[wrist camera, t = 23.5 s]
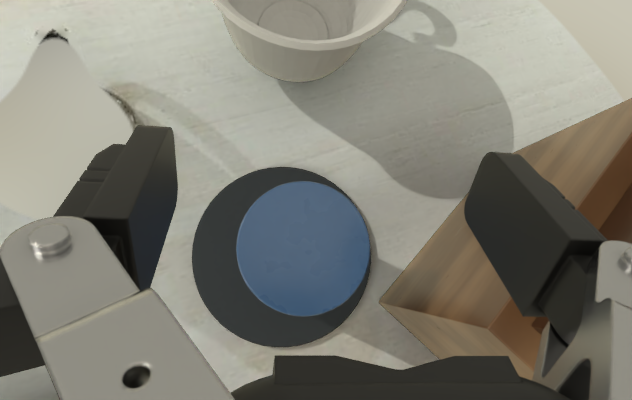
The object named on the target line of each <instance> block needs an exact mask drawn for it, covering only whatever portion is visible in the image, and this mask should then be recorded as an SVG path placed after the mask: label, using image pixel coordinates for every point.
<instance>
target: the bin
mask: <svg viewBox="0 0 632 400" xmlns="http://www.w3.org/2000/svg"><path fill="white" fill-rule="evenodd" d="M512 154H519V155H521V156H522V157H523V158H524V159H525V160H526V161H527V162H528V163H529V164H530V165H531V166H532V167H533V168H534V169H535V170H536V172H537V173H538V174H539V175H540V176H541V177H542V178H544V179H545V180H547V181H548V182H550V183H552V184H553V185H554V186H555V187H556V188H557V189H558V190H559V191H560V192H561V193H562V194H563V195H564V196H565V199H568V200H569V201H570V202H571V203H572V204H573V205H574V206H575V210H579V211H580V212H581V213H582V214H583V215H584V216H585V217H586V218H587V219H588V220H589V221H590V223H591V224H592V225H593V226H594V227H595V228H596V229H597V230H598V231H599V232H600V233H601V234H602V235H603V236H604V237H605V238H606V239H607V240H608V241H611V240H615V241H623V242H627V243H631V244H632V98H631V99H629V100H627V101H624V102H622V103H620V104H618V105H616V106H614V107H611V108H609V109H607V110H605V111H603V112H601V113H598V114H596V115H594V116H592V117H590V118H588V119H585V120H583V121H581V122H579V123H577V124H575V125H572V126H570V127H568V128H566V129H564V130H562V131H559V132H557V133H555V134H553V135H551V136H549V137H546V138H544V139H542V140H540V141H538V142H536V143H534V144H531V145H529V146H527V147H525V148H523V149H521V150H518V151H516V152H514V153H512ZM468 194H469V192H468ZM468 194H467V195H466V196H465V197H464V199H463V200H462V201H461V202H460V203H459V205H458V206H457V207H456V208H455V209H454V211H453V212H452V213H451V214H450V215H449V217H448V218H447V219H446V220H445V222H444V223H443V224H442V225H441V226H440V228H439V229H438V230H437V231H436V232H435V234H434V235H433V236H432V237H431V238H430V240H429V241H428V242H427V243H426V244H425V246H424V247H423V248H422V249H421V251H420V252H419V253H418V254H417V255H416V257H415V258H414V259H413V260H412V261H411V263H410V264H409V265H408V266H407V267H406V269H405V270H404V271H403V272H402V274H401V275H400V276H399V277H398V278H397V280H396V281H395V282H394V283H393V284H392V286H391V287H390V288H389V289H388V290H387V292H386V293H385V294H384V295H383V296H382V298H381V299H380V300H379V303H380V304H381V305H382V306H383V307H384V308H385V309H386V310H387V311H388V312H389V313H390V314H392V315H393V316H394V317H395V318H396V319H397V320H398V321H399V322H400V323H401V324H402V325H403V326H404V327H406V328H407V329H408V330H409V331H410V332H411V333H412V334H413V335H414V336H415V337H416V338H417V339H418V340H419V341H421V342H422V343H423V344H424V345H425V346H426V347H427V348H428V349H429V350H430V351H431V352H432V353H433V354H435V355H436V356H437V357H438V358H439V359H440V360H441V359H445V358H448V357H452V356H509V358H510V360H511V362H512V364H513V366H514V368H515V370H516V372H517V374H518V375H519V376H520V377H523V378H526V379H529V380H532V378H533V373H534V368H535V363H536V359H537V354H538V349H539V344H540V339H541V335H542V331H543V329H544V328H545V326H546V325H547V323H548V322H549V319H548V318H547V317H523V316H522V314H521V312H520V311H519V309H518V307H517V306H516V304H515V302H514V301H513V299H512V297H511V296H510V294H509V292H508V291H507V289H506V287H505V286H504V284H503V282H502V281H501V279H500V277H499V276H498V274H497V272H496V271H495V269H494V267H493V266H492V264H491V262H490V261H489V259H488V257H487V256H486V254H485V252H484V251H483V249H482V247H481V246H480V244H479V242H478V241H477V239H476V237H475V236H474V234H473V232H472V231H471V229H470V227H469V226H468V224H467V222H466V220H465V215H464V207H465V201H466V199H467V196H468Z"/></svg>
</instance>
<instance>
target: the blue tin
mask: <svg viewBox="0 0 632 400" xmlns="http://www.w3.org/2000/svg"><path fill="white" fill-rule="evenodd" d="M236 253H237V261H238V266H239V269H240V272H241V275H242V277H243V279H244V281H245V283H246V285H247V286H248V287H249V289H250V290H251V292H252V293H253V294H254V295H255V296H256V297H257V298H258V299H259V300H260V301H262V302H263V303H264V304H265V305H267V306H269V307H270V308H272V309H274V310H276V311H278V312H281V313H284V314H288V315H292V316H315V315H319V314H323V313H326V312H328V311H331V310H333V309H335V308H337V307H338V306H340V305H341V304H343V303H344V302H345V301H347V300H348V299H349V298H350V297H351V296H352V295H353V294H354V292H355V291H356V290H357V288H358V287H359V286H360V284H361V282H362V280H363V278H364V276H365V274H366V271H367V268H368V264H369V258H370V240H369V234H368V230H367V227H366V224H365V222H364V220H363V218H362V216H361V214H360V212H359V211H358V210H357V208H356V207H355V205H354V204H353V203H352V202H351V201H350V200H349V199H348V198H347V197H345V196H344V195H343V194H342V193H340V192H338V191H337V190H335V189H333V188H331V187H329V186H327V185H324V184H320V183H316V182H310V181H297V182H290V183H285V184H282V185H280V186H277V187H275V188H273V189H271V190H269V191H268V192H266V193H265V194H263V195H262V196H261V197H260V198H258V199H257V200H256V201H255V202H254V203H253V205H252V206H251V207H250V208H249V210H248V211H247V213H246V214H245V216H244V218H243V220H242V222H241V225H240V228H239V231H238V236H237V245H236Z"/></svg>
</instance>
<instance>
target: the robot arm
mask: <svg viewBox="0 0 632 400" xmlns="http://www.w3.org/2000/svg"><path fill="white" fill-rule="evenodd" d="M177 190H178V184H177V171H176V158H175V145H174V135H173V130H172V128H171V127H158V126H145V125H138V126H137V127H136V128H135V130H134V132H133V133H132V135H131V137H130V138H129V140H128V142H127V143H126V145H122V144H113V145H111V146H109V147H108V148H106V149H105V150H103V151H101V152H99V153H98V154H96V156H95V157H94V158H93V160H92V161H91V163H90V164H89V166H88V167H87V170H85V171H84V173H83V174H82V176H81V177H80V181H77V183H76V184H75V186H74V187H73V189H72V190H71V192H70V193H69V194H68V196H67V197H66V199H65V200H64V202H63V203H62V205H61V206H60V207H59V209H58V210H57V212H56V213H55V215H54V216H53V217H50V218H45V219H41V220H37V221H34V222H31V223H29V224H27V225H25V226H23V227H21V228H19V229H17V230H16V231H15V232H13V233H12V234H11V235H10V236H9V237H8V238H7V239H6V240H5V241H4V243H3V244H2V246H1V249H0V377H2V376H6V375H9V374H13V373H17V372H21V371H24V370H28V369H32V368H36V367H40V366H43V365H45V366H46V368H47V371H48V373H49V375H50V378H51V380H52V382H53V385H54V387H55V389H56V392H57V394H58V397H59V399H60V400H632V244H631V243H627V242H623V241H615V240H611V241H608V240H607V239H606V238H605V237H604V236H603V235H602V234H601V233H600V232H599V231H598V230H597V229H596V228H595V227H594V226H593V225H592V224H591V223H590V221H589V220H588V219H587V218H586V217H585V216H584V215H583V214H582V213H581V212H580V211H579V210H575V206H574V205H573V204H572V203H571V202H570V201H569V200H568V199H565V196H564V195H563V194H562V193H561V192H560V191H559V190H558V189H557V188H556V187H555V186H554V185H553V184H552V183H550V182H548V181H547V180H545V179H544V178H542V177H541V176H540V175H539V174H538V173H537V172H536V170H535V169H534V168H533V167H532V166H531V165H530V164H529V163H528V162H527V161H526V160H525V159H524V158H523V157H522V156H521V155H519V154H512V153H499V152H489V153H487V154H486V155H485V156H484V158H483V159H482V161H481V164H480V166H479V169H478V171H477V174H476V176H475V179H474V181H473V184H472V186H471V189H470V191H469V194H468V196H467V199H466V201H465V207H464V215H465V220H466V222H467V224H468V226H469V227H470V229H471V231H472V232H473V234H474V236H475V237H476V239H477V241H478V242H479V244H480V246H481V247H482V249H483V251H484V252H485V254H486V256H487V257H488V259H489V261H490V262H491V264H492V266H493V267H494V269H495V271H496V272H497V274H498V276H499V277H500V279H501V281H502V282H503V284H504V286H505V287H506V289H507V291H508V292H509V294H510V296H511V297H512V299H513V301H514V302H515V304H516V306H517V307H518V309H519V311H520V312H521V314H522V316H523V317H547V318H548V319H549V322H548V323H547V325H546V326H545V328H544V329H543V331H542V335H541V339H540V344H539V349H538V354H537V359H536V363H535V368H534V373H533V378H532V380H529V379H526V378H523V377H520V376H519V375H518V374H517V372H516V370H515V368H514V366H513V364H512V362H511V360H510V358H509V356H452V357H448V358H445V359H441V360H438V361H434V362H430V363H427V364H423V365H420V366H416V367H412V368H409V369H405V370H395V369H390V368H386V367H382V366H378V365H373V364H369V363H365V362H360V361H356V360H352V359H348V358H343V357H339V356H275V359H274V367H273V375H272V376H268V377H265V378H261V379H258V380H256V381H253V382H251V383H248V384H246V385H244V386H242V387H240V388H238V389H236V390H235V391H233V392H231V393H230V392H229V391H228V389H227V388H226V387H225V385H224V384H223V382H222V381H221V380H220V378H219V377H218V376H217V374H216V373H215V372H214V370H213V369H212V367H211V366H210V365H209V363H208V362H207V361H206V359H205V358H204V356H203V355H202V354H201V352H200V351H199V350H198V348H197V347H196V346H195V344H194V343H193V341H192V340H191V339H190V337H189V336H188V335H187V333H186V332H185V330H184V329H183V328H182V326H181V325H180V324H179V322H178V321H177V320H176V318H175V317H174V315H173V314H172V313H171V311H170V310H169V309H168V307H167V306H166V304H165V303H164V302H163V300H162V299H161V298H160V296H159V295H158V294H157V293H156V292H155V291H154V290H153V289H152V288H150V286H151V283H152V280H153V276H154V273H155V270H156V267H157V264H158V261H159V258H160V254H161V251H162V248H163V245H164V242H165V239H166V235H167V232H168V229H169V226H170V223H171V220H172V217H173V213H174V210H175V207H176V202H177Z"/></svg>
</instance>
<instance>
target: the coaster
mask: <svg viewBox="0 0 632 400" xmlns="http://www.w3.org/2000/svg"><path fill="white" fill-rule="evenodd" d="M297 181H310V182H316V183H320V184H324V185H327V186H329V187H331V188H333V189H335V190H337V191H338V192H340V193H342V194H343V195H344V196H345V197H347V198H348V199H349V200H350V201H351V199H350V198H349V197H348V196H347V195H346V194H345V193H344V192H343V191H342V190H341V189H340V188H339V187H337V186H336V185H335V184H334V183H332V182H331V181H329V180H327V179H326V178H324V177H322V176H320V175H318V174H315V173H313V172H310V171H306V170H303V169H298V168H291V167H275V168H267V169H262V170H258V171H255V172H252V173H249V174H247V175H245V176H243V177H241V178H239V179H237V180H235V181H234V182H232V183H231V184H229V185H228V186H227V187H225V188H224V189H223V190H222V191H221V192H220V193H219V194H218V195H217V196H216V197H215V198H214V199H213V200H212V202H211V203H210V204H209V206H208V207H207V209H206V210H205V212H204V214H203V216H202V218H201V220H200V222H199V224H198V227H197V230H196V233H195V238H194V243H193V251H192V265H193V273H194V278H195V282H196V285H197V288H198V291H199V294H200V296H201V298H202V300H203V302H204V303H205V305H206V307H207V308H208V309H209V311H210V312H211V314H212V315H213V316H214V317H215V318H216V319H217V320H218V321H219V322H220V323H221V324H222V325H223V326H224V327H225V328H227V329H228V330H229V331H231V332H232V333H234V334H235V335H237V336H239V337H240V338H243V339H245V340H247V341H250V342H252V343H256V344H260V345H263V346H271V347H291V346H298V345H302V344H306V343H309V342H312V341H314V340H317V339H319V338H321V337H323V336H325V335H326V334H328V333H330V332H331V331H333V330H334V329H335V328H337V327H338V326H339V325H340V324H342V323H343V321H344V320H345V319H346V318H347V317H348V316H349V315H350V314H351V313H352V311H353V310H354V308H355V307H356V306H357V304H358V302H359V300H360V299H361V297H362V295H363V292H364V290H365V287H366V285H367V281H368V277H369V273H370V265H371V248H370V258H369V264H368V268H367V271H366V274H365V276H364V278H363V280H362V282H361V284H360V286H359V287H358V288H357V290H356V291H355V292H354V294H353V295H352V296H351V297H350V298H349V299H348V300H347V301H345V302H344V303H343V304H341V305H340V306H338V307H337V308H335V309H333V310H331V311H328V312H326V313H323V314H319V315H315V316H292V315H288V314H284V313H281V312H278V311H276V310H274V309H272V308H270V307H269V306H267V305H265V304H264V303H263V302H262V301H260V300H259V299H258V298H257V297H256V296H255V295H254V294H253V293H252V292H251V290H250V289H249V287H248V286H247V285H246V283H245V281H244V279H243V277H242V275H241V272H240V269H239V266H238V261H237V253H236V245H237V236H238V231H239V228H240V225H241V222H242V220H243V218H244V216H245V214H246V213H247V211H248V210H249V208H250V207H251V206H252V205H253V203H254V202H255V201H256V200H257V199H258V198H260V197H261V196H262V195H263V194H265V193H266V192H268V191H269V190H271V189H273V188H275V187H277V186H280V185H282V184H285V183H290V182H297ZM351 202H352V201H351ZM352 203H353V202H352ZM353 204H354V203H353ZM355 207H356V206H355ZM356 208H357V207H356ZM357 210H358V209H357Z"/></svg>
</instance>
